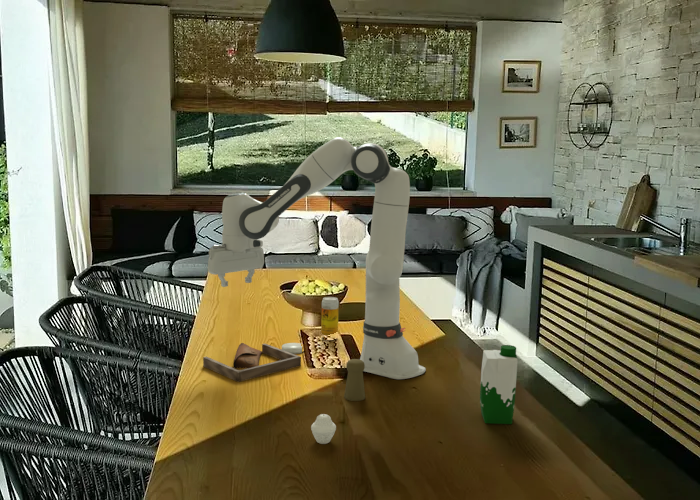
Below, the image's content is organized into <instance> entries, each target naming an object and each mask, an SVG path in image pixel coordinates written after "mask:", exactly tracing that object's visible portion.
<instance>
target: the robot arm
mask: <svg viewBox="0 0 700 500" xmlns="http://www.w3.org/2000/svg"><path fill="white" fill-rule="evenodd" d="M389 160H390V159H389V155H388V153H387V151H386V150H385V149H384V148H383V147H382V146H381V145H379V144H377V143H373V142H367V143H363V144H362V145H359V146H354V145H353V144H351V143H350V142H349V141H348V140H347V139H345V138H343V137H338V136H336V137H334V138H332V139H330V140H328V141H326V142H325V143H323V145H320V146H319V147H317V148H316V150H314V151H313V152H312V153H311V154H309V155H308V156H307V157H306V158H305V159H304V160H303V161H302V162H301V164H300V165H299V166H298V167H297V168H296V170H295V171H294V172H293V174H291V176H290V178H289V179H288V180H287V181H286V182H285V183H284V184H283V185H282V186H281V187H280V188H279V189H277V190H276V191H275V192H274V193H273V194H272V195H271V196H269V197H268V198H267V199H266V200H264V201H259V200H258V199H255V198H254V197H252V196H250V194H248V193H245V192H236V193H232V194H228V195H227V196H225V198H224V199H223V201H222V210H221V215H222V216H221V222H222V225H223V229H222V231H221V232H222V233H221V234H222V235H221V236H222V237H221V238H222V243H221V244H214V245H212V247H210V249H208V260H207V261H208V262H207V271H208V273H209V274H211V275H217V277H218V279H219V280H220V282H221V284H220V285H221V287H222V288H226V287H229V280H226V278H225V277H226V274H229V273H235V272H242V271H243V272H244V271H247V272H248V273H247V275H246V276H245V277H244V282H245V283H246V284H251V283H252V282H253V281H252V280H253V277H254V274H255V273H256V272H255V269H256V270H257V269H262V268H263V267H264V264H265V253H264V249H263V245H264V241H263V240H262V239H263V238H264V237H266V235H268V234H269V233H271V232H272V231H273V230H274V229H275V228H276V227H277V226H278V225H279V221H280V216H281V215H282V214H283V213H284V212H285V211H287V210H288V209H289V208H290V207H291V206H293V205H294V204H295V203H297V202H298V201H300V200H301V199H303V198H306V197H307V196H310V195H313V194H315V193H317V192H319V191H321V190H323V189H324V188H326V187H327V186H329V185H331V184H332V183H333V182H334V181H336V179H338V178H339V177H340V176H341V175H343V174H345V172H348V171H353V172H354V173H355V175H357V176H358V177H359V178H361V179H364V180H366V181H368V182H371V183H372V184H374V188H375V189H374V190H375V193H374V199H373V206H372V207H373V208H372V214H371V224H370V234H369V235H370V238H369V246H368V247H369V249H368V251H367V253H366V256H365V304H364V305H365V307H364V308H365V310H364V311H365V312H364V320H363V326H362V329H363V330H362V333H363V340H362V348H361V353H360V357H359V360H362V361H363V362H364V364H365V368H364V371H363V372H365V373H366V372H367V373H371V374H374V375H378V376H381V377H386V378H389V379H394V380H405V379H410V378H415V377H418V376H420V375H421V376H422V375H424V374H425V372H426V369H427V368H426V367H424V366H423V365H420V364H419V355H418V352H417V351H416V349H415V348H414V347H413V346H412V345H411V344H410V342H409V341H408V340H407V339H406V338H405V337H404V336H403V335H404V333H403V332H406V330H405V329H406V327H402V326H401V323H400V308H401V307H400V303H401V295H400V277H401V276H402V273H403V269H404V262H405V261H404V260H405V259H404V258H405V249H406V248H405V247H406V234H407V233H406V231H407V222H408V215H409V208H410V207H409V205H410V197H411V183H410V181H411V180H410V177H409V174H408V173H407V172H406V171H405V170H403V169H402V168H398V167H393V166H392V165H390V162H389Z"/></svg>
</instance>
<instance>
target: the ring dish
mask: <svg viewBox="0 0 700 500" xmlns="http://www.w3.org/2000/svg"><path fill="white" fill-rule="evenodd" d="M301 344H302V343H301V342H300V343H299V342H287V343H283V344H282V345H281V350H284V351H287V352H289V353H292V354H295V355H297V354H298V355H299V354H302V346H301Z"/></svg>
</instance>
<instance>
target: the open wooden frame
mask: <svg viewBox="0 0 700 500" xmlns="http://www.w3.org/2000/svg"><path fill="white" fill-rule="evenodd" d="M261 346H262V347H261V352H262V354H264V355H267V356H270V357H272V358H275V359H277V360H276V361H272V362H269V363H264V364H261V365H260V364H259V366H256V367H251V368H242V369H238V368H234V367H232V366H230V365H228V364H225V363H223V362H220V361H218V360H216V359H214V358H211V357H210V356H209V357H208V356H203V358H202V362H203V363H202V365H203V367H204V368H206V369H209V370H211V371H212V370H213V372H215V373H218V374H219V375H222V376H224V377H226V378H228V379H231V380H233V381H235V382H238V383H240V382H244V381H247V380H251V379H255V378H259V377H262V376H266V375H270V374H274V373H279V372H282V371H287V370H291V369H294V368H298V367H301V366H302V356H300V355H297V354H292V353H289V352H287V351H284V350H282V348H278V347H276V346H272V345H270V344H268V343H262V344H261Z"/></svg>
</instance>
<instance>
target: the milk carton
mask: <svg viewBox="0 0 700 500" xmlns="http://www.w3.org/2000/svg"><path fill="white" fill-rule="evenodd" d="M518 362H519V361H518V357H517V347H516V346H514V345H510V344H504V345H501V346H500V349H499V350H498V349H490V350H488V349H484V350H483V353H482V360H481V371H480V372H481V373H480V389H479V392H480V393H479V404H480V412H481V416H482V419H483V422H484V423H485V424H493V425H494V424H495V425H512V424H513V420H514V419H513V418H514V411H515V406H516V405H515V403H516V390H517V375H518V373H517V372H518Z"/></svg>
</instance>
